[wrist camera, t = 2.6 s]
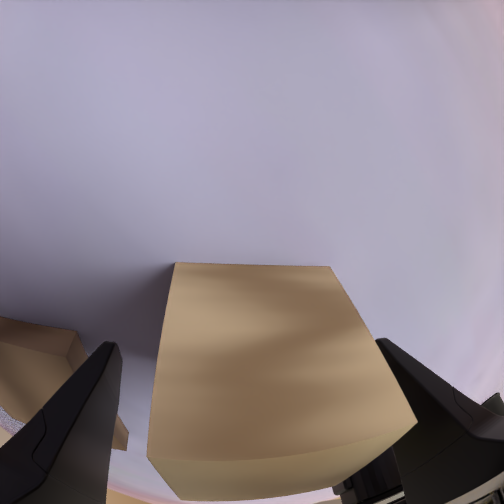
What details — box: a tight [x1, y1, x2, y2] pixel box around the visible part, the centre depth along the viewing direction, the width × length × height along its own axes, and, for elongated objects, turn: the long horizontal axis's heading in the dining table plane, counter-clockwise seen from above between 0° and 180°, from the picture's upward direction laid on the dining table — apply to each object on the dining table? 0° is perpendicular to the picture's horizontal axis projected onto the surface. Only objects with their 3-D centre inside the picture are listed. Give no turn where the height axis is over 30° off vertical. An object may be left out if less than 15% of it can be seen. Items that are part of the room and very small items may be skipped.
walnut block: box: [0, 317, 129, 451], centre depth 11 cm, size 10×10×2 cm
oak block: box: [147, 262, 418, 501], centre depth 7 cm, size 5×5×6 cm
